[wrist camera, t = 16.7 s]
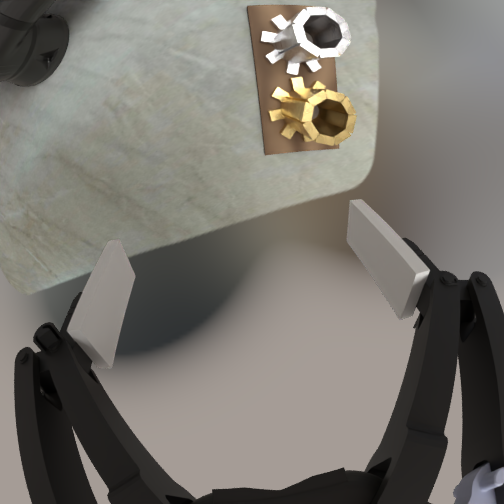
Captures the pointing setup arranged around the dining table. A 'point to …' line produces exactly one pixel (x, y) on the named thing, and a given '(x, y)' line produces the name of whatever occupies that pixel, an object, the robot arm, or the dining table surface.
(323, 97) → the gold hollow faceted cylinder
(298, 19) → the aluminium cog
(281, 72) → the gear board
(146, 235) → the dining table surface
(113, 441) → the robot arm
